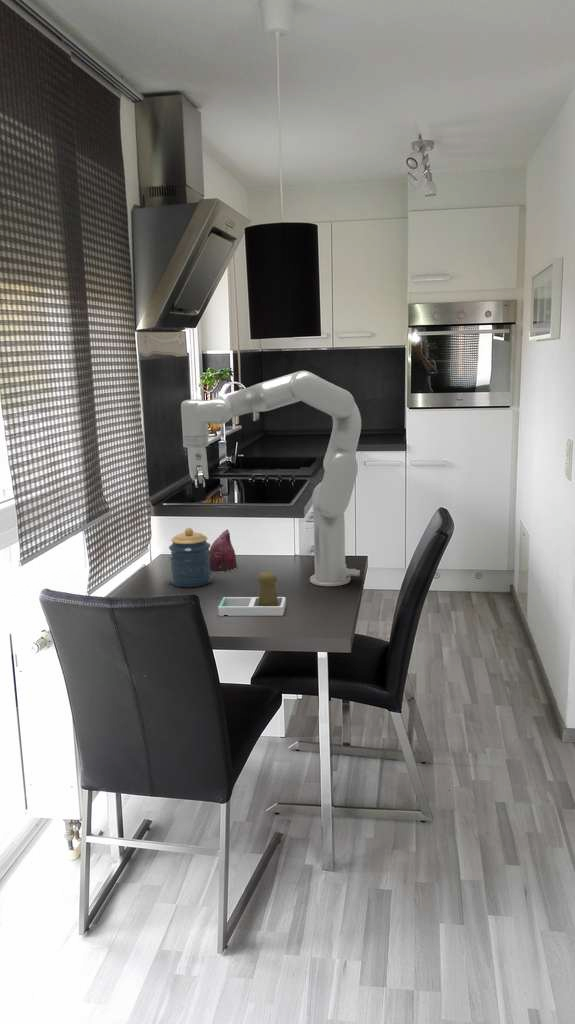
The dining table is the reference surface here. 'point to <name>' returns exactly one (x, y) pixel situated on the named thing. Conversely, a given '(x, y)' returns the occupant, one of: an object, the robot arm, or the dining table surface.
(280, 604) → the white divided tray
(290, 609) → the dining table surface
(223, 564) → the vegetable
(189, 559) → the canister
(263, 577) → the cork
